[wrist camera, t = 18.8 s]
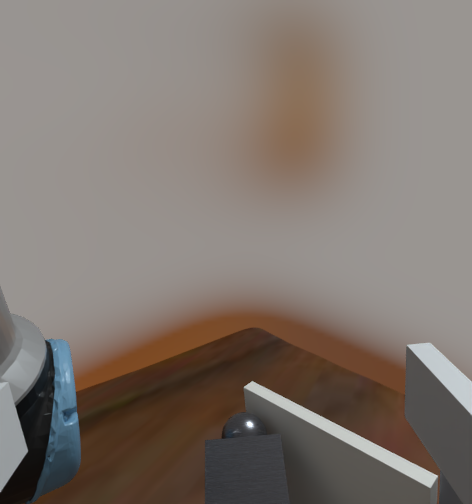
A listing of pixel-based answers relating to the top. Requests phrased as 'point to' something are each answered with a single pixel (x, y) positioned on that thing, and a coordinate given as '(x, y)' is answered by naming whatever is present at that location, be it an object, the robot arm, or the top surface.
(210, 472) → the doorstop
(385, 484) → the door
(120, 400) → the top surface
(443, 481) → the wall frame
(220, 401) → the top surface
